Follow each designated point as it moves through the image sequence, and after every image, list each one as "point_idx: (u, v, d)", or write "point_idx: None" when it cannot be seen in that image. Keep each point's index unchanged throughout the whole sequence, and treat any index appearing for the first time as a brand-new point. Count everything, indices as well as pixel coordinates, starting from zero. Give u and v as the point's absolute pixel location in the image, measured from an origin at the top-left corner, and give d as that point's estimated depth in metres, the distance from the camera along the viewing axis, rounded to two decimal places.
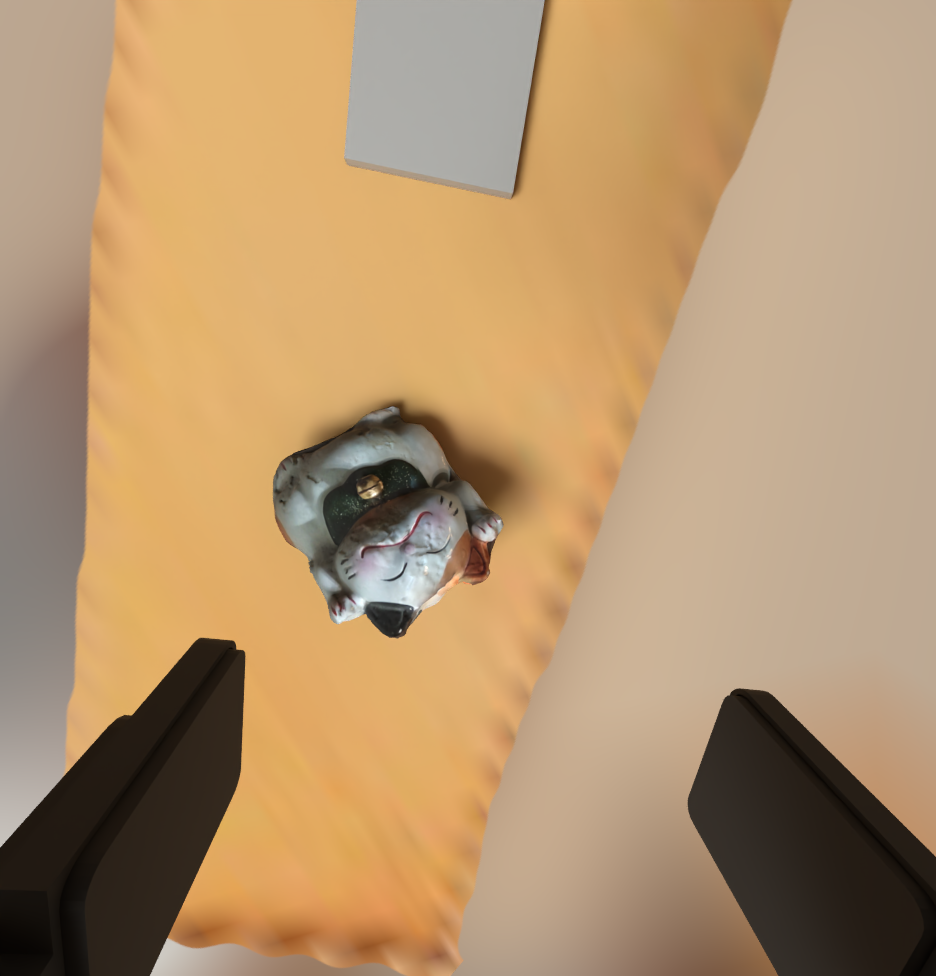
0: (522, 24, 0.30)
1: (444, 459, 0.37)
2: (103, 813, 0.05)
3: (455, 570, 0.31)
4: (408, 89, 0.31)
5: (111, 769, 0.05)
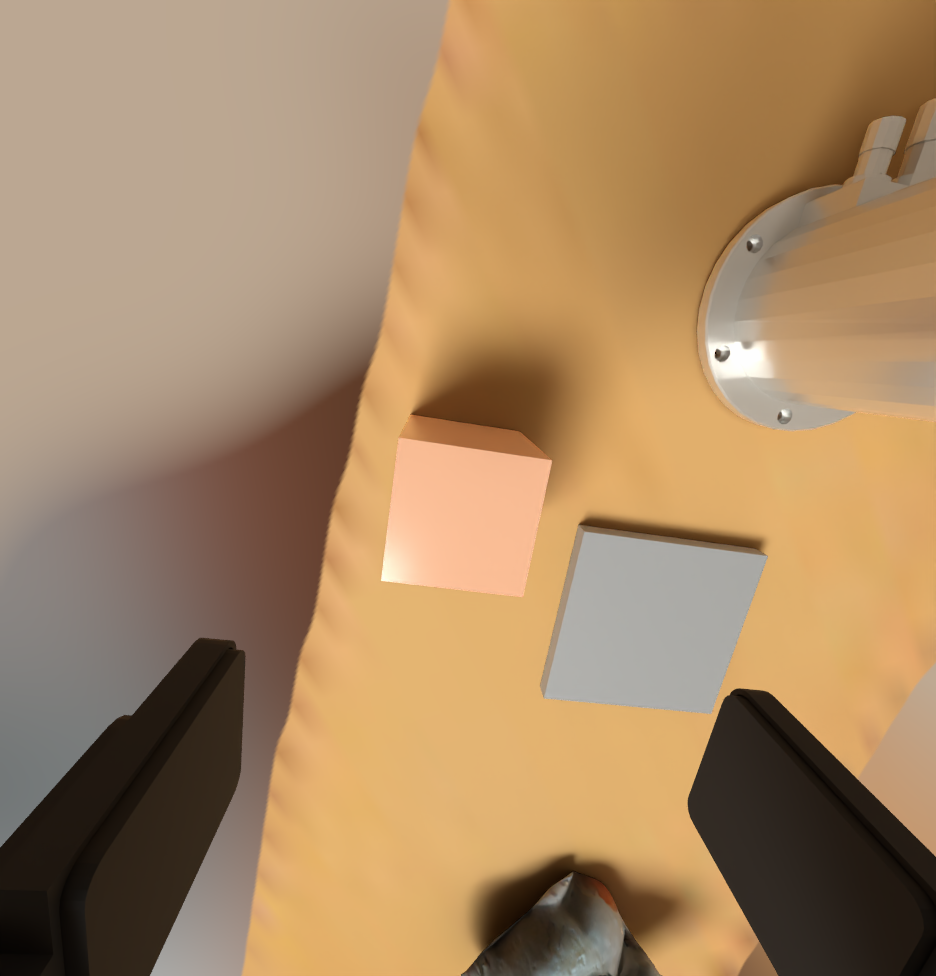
0: (739, 584, 0.29)
1: (621, 925, 0.35)
2: (103, 814, 0.05)
3: None
4: (616, 642, 0.30)
5: (111, 769, 0.05)
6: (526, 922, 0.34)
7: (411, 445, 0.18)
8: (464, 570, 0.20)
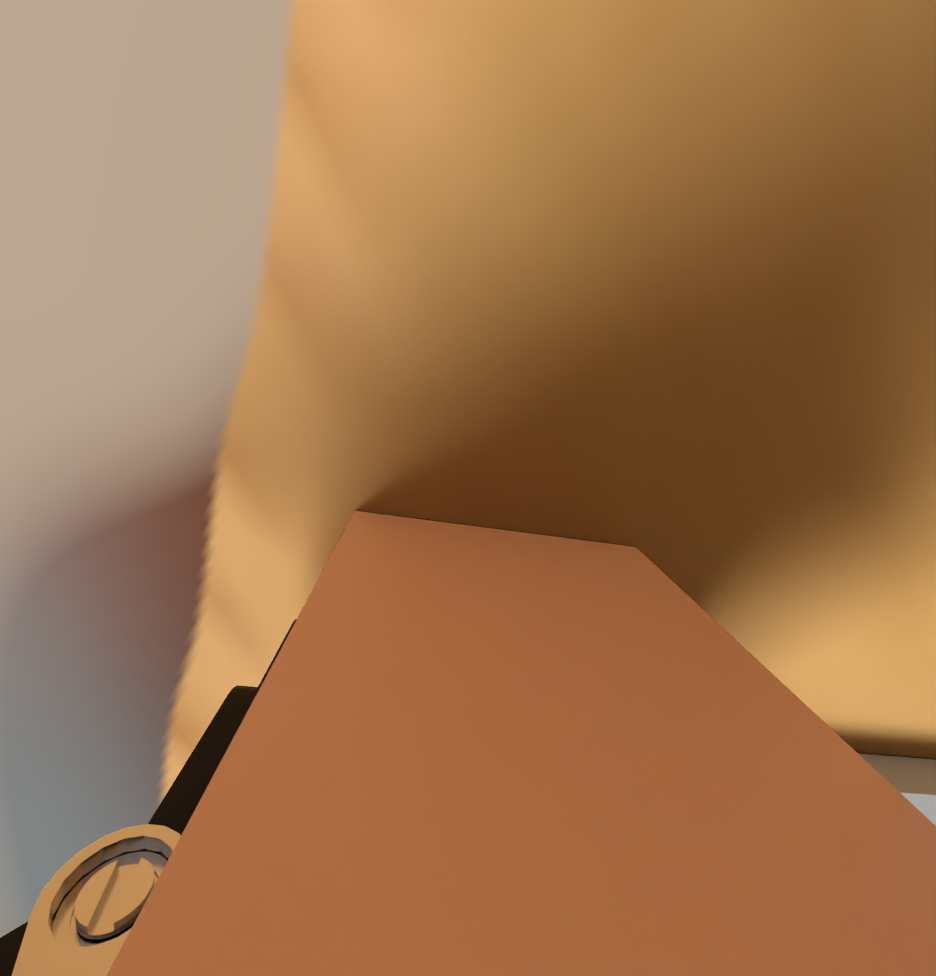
0: None
1: None
2: None
3: None
4: None
5: None
6: None
7: None
8: None
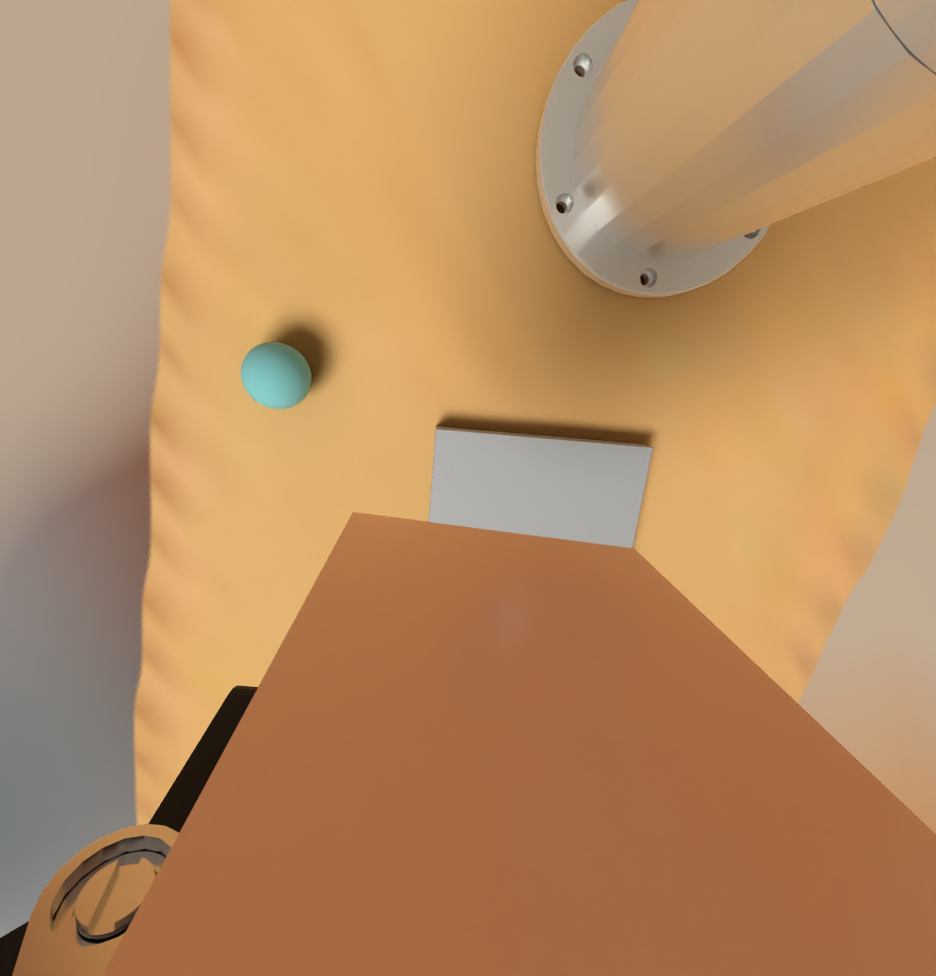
0: (624, 483, 0.26)
1: None
2: None
3: None
4: None
5: None
6: None
7: None
8: None
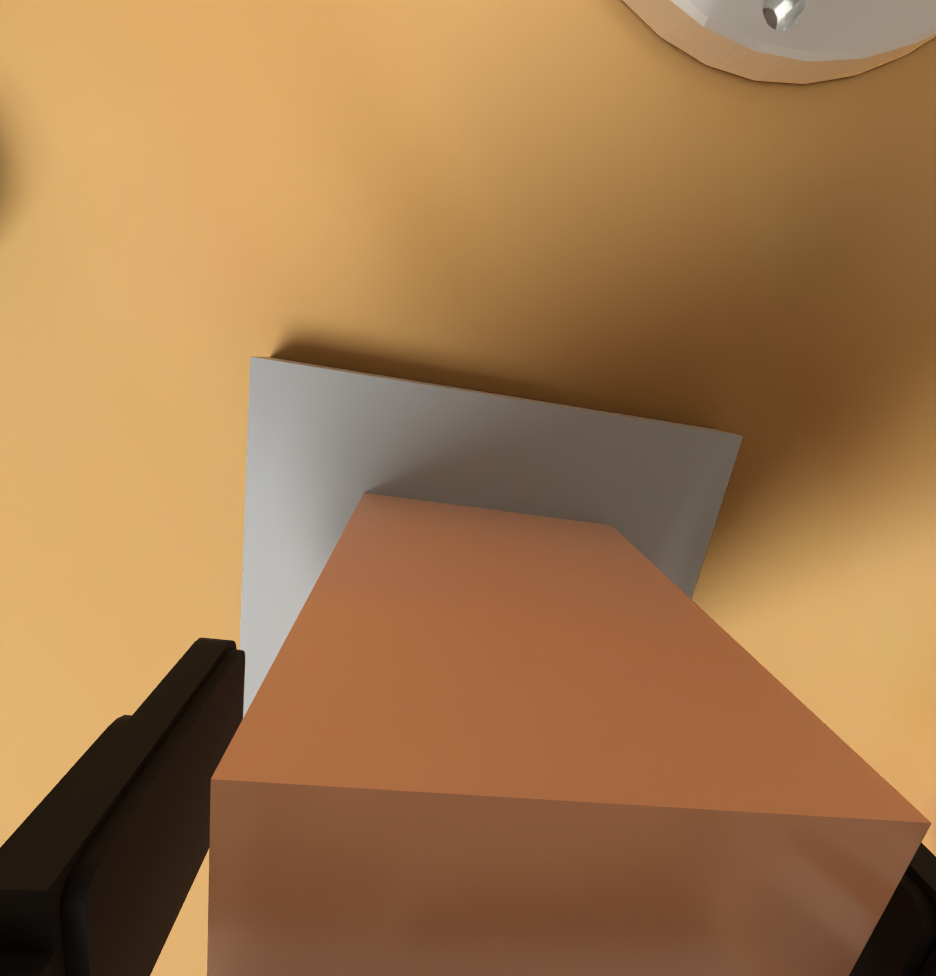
0: (675, 510, 0.12)
1: None
2: (104, 812, 0.05)
3: None
4: None
5: (111, 769, 0.05)
6: None
7: (281, 806, 0.04)
8: None
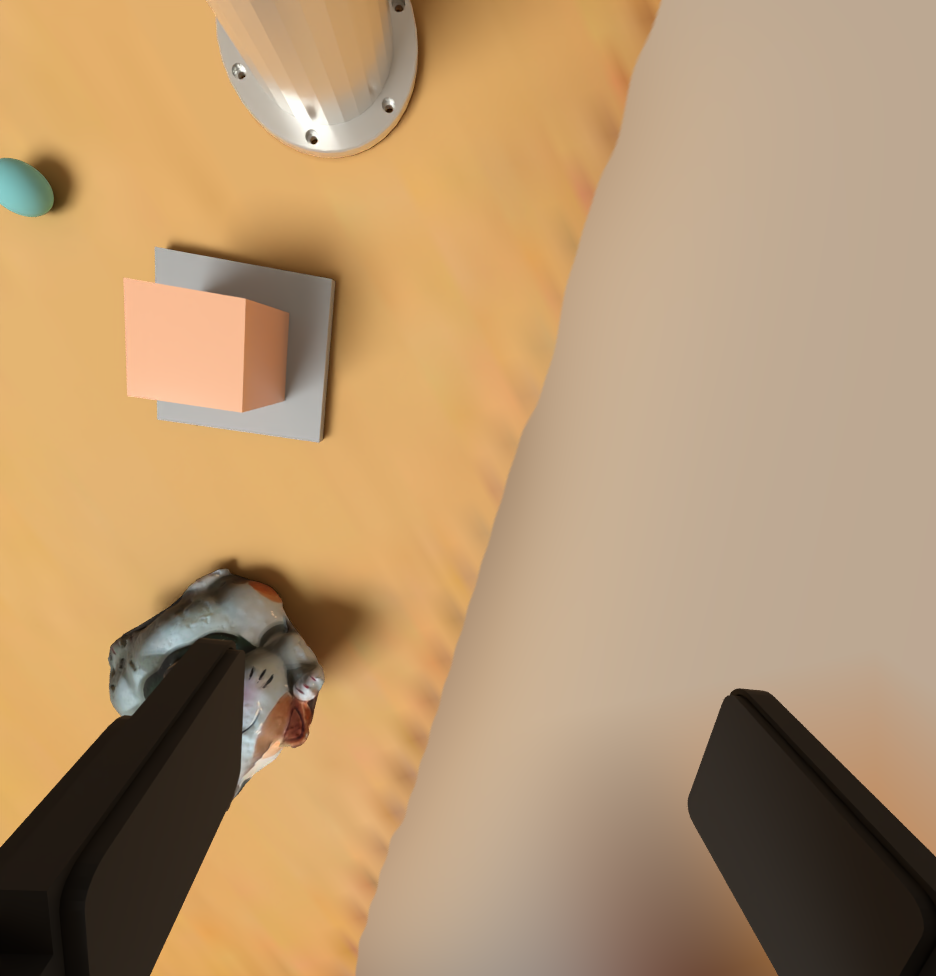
0: (312, 307, 0.33)
1: (276, 611, 0.38)
2: (104, 812, 0.05)
3: (270, 740, 0.33)
4: None
5: (111, 769, 0.05)
6: (172, 606, 0.37)
7: (134, 284, 0.25)
8: (192, 388, 0.27)
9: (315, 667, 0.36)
